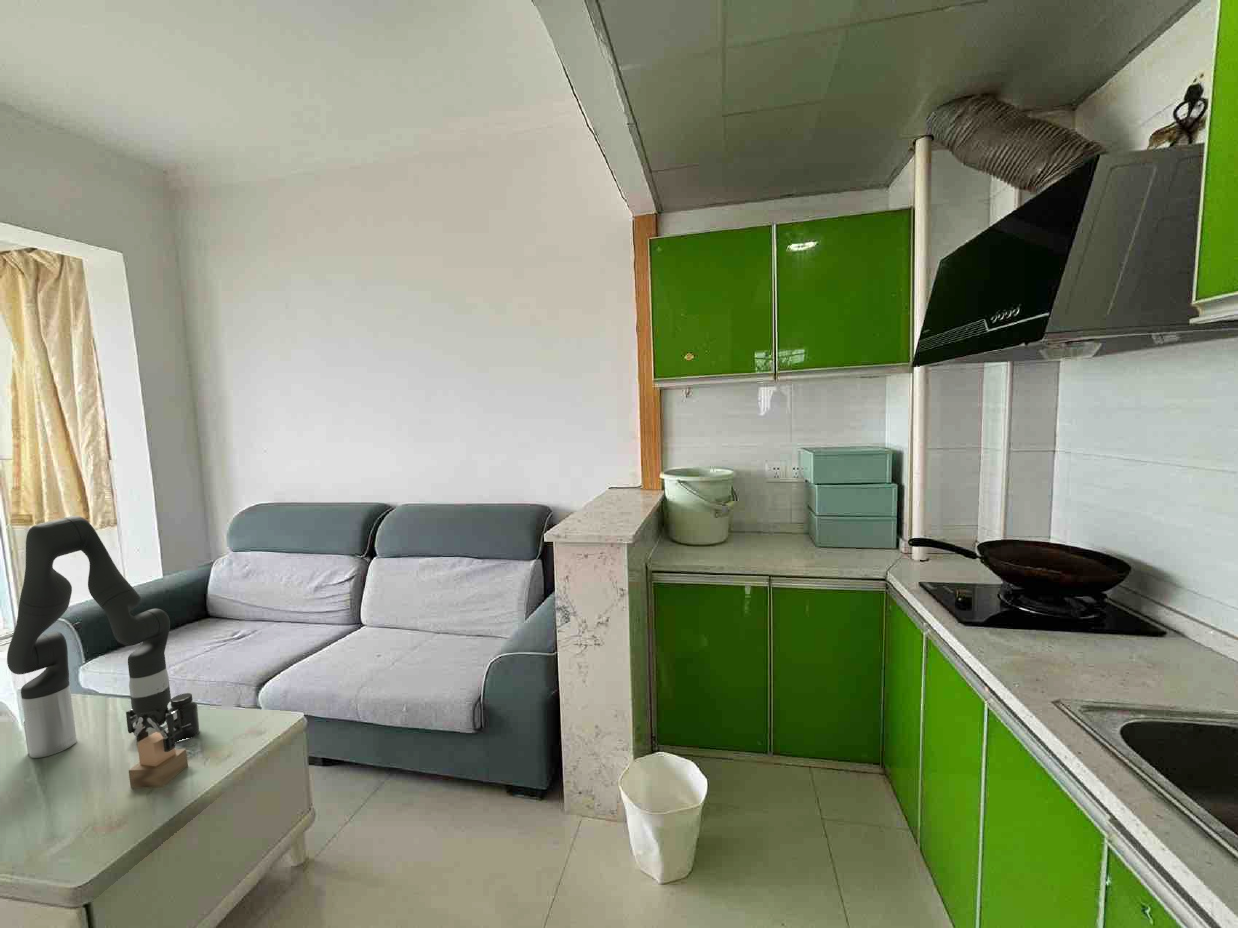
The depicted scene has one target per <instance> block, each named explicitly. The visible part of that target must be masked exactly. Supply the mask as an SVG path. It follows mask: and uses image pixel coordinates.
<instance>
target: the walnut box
mask: <svg viewBox="0 0 1238 928" xmlns="http://www.w3.org/2000/svg"><path fill="white" fill-rule="evenodd" d="M175 752H176V754H175V755H173V756H172V757H170V758H169V759H167V760H165V761H164V762H162V763H161V764H159V765H157V766H148V765H140V761H139V762H137V764H135V765H134V766H132V767H131V768H130V769H128V778H129V784H130V785H129V786H130V789H138V788H162V787H164V786H166V785H168V783H169V782H171V781H172V780H173V779H174V778H175V777H177V776H178V775H179V774H180V773H181V772H182V771H183V770H185V769H186V768H187V767H188V766H189V762H188V754H187V748H179V749H178V748H177V749H176V748H175Z"/></svg>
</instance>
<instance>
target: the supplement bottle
mask: <svg viewBox="0 0 1238 928" xmlns="http://www.w3.org/2000/svg"><path fill="white" fill-rule="evenodd" d="M168 709H169V711H170V712H174V711H176V710H179V711H180V718H181V726H182V731H181V732H179V733H177V734H176V735H175V743H178V742H177V741H179V740H182V739H186V738H190V739H192V738H194V737H195V736H197V735H198V734H199V732H200V722H199V710H198V704H197V702H195V701H193V694H192V693H190V692H184V693H181V694H178V695H176V696H174V697H171V700H170V708H168ZM174 728H175V729H176V726H174ZM191 737H192V738H191Z"/></svg>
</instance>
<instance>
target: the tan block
mask: <svg viewBox="0 0 1238 928" xmlns="http://www.w3.org/2000/svg"><path fill="white" fill-rule="evenodd" d="M166 732H167V733H168V731H166ZM163 739H164V738H163V736H162V735H161V734H160V733H157V732H155V733H153V734H151V735H149V736H148V737H146V738H144V739H142V740H141V741H139V742H137V741H136V743H138V745H137V750H138V751H137V752H138V760H139V762H140V765H148V766H157V765H159V764H161V763H162V762H164V761H165V760H167V759H169V758H170V757H172V756H173V755H175V754H176V752H175V749H176V747H175V748H174V749H172V750H171V751H169V752H165V751H164V744H163Z"/></svg>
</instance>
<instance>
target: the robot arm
mask: <svg viewBox="0 0 1238 928" xmlns="http://www.w3.org/2000/svg"><path fill="white" fill-rule="evenodd" d="M79 551H81V552H82V553H83V554H84V555H85V556H86V557H87V559H88V562H89V569H88V570H89V572H88V578H87V588H88V592H89V595H90V596H91V597H92V599H93V600H94V601H95V602H96V603H97V604H98V606H100V608H101V609H102V611H104V613H105V615H106V617H107V619H108V622H109V624H110V625H109V626H110V628H111V631H112V634H113V637H114V638H115V640H116V641H117V642H118V643H120V644H121V645H124V646H128V647H129V646H130V647H131V646H134V645H135V646H136V645H138V644H141V645H140V646H139V647H138V648H137V649H135V650H134V651H133V652H131V653H130V654H129V655H128V657H127V666H128V675H129V681H128V682H129V683H128V687H129V695H130V704H131V709H129V710H127V711H126V712H125V716H126V717H125V718H126V726H127V727H126V728H127V732H128V734H132V733H133V735H134V737H135V738H136V737H137V738H136V743H137V742H139V741H141V740H142V739H144V738H146V737H148V731H147V730H148V728H149V727H151V728H154V729H155V730H156V732H157V733H160V734H161V735H162V736H163V738H164V739H163V744H164V751H165V752H169V751H171V750H172V749H174V748H175V749H176V742H175V735H176V734H177V733H179V732H181V731H182V726H181V718H180V711H179V710H176V711H174V712H170V711H169V709H170V708H168V705H169V703H171V699H172V696H171V685H170V679H169V673H168V670H167V662H166V656H165V655H166V654H165V651H166V647H167V645H168V644H167V643H168V638H169V634H170V629H171V620H170V617H169V615H168V613H167V611H164V610H163V609H160V608H151V609H148V610H145V611H143V612H140V613H136V614H134V615H132V614H131V613H130V612H131V611H133V610H135V608H137V607H138V606H140V603H141V601H142V600H141V596H140V594H139V593H138V592H137V591H136V590H135V589H134V587H133V586H132V585H131V584H130V583H129V582H128V581H127V579H125V577H124V575H122V573H121V572H120V570H119V569H118V567H117V565H116V564H115V562H114V561H113V559H112V557H111V556H110V554H109V552H108V550H107V548H106V547H105V545H104V542H103V541H102V539H101V537H100V536H99V535H98V533H97V532H96V530H95V528H94V526H93V525H92V524H91V523H90V522H89V521H88V520H87V519H86V518H84V517H83V516H80V515H72V516H71V515H70V516H67V517H62V518H58V519H57V518H56V519H53V520H48V521H44V522H41V523H37V524H35V525H33V526H32V527H30V528H29V530H28V531H27V533H26V539H25V570H24V576H23V577H24V579H23V584H22V589H21V593H20V595H19V596H20V597H19V601H18V610H17V619H16V625H15V628H14V632H13V635H12V637H11V639H10V642H9V645H8V649H7V654H6V664H7V668H8V670H9V671H10V672H11V673H13V674H14V675H25V674H30V673H33V672H36V671H40V670H42V669H44V670H43V671H42V672H41V673H40V674H38V675H37V676H36V677H33V679H31V680H29V681H28V682H26V683H25V684H23V686H21V688H20V697H21V701H22V708H23V710H22V711H23V715H24V716H23V717H24V721H23V726H24V727H23V728H24V734H25V742H26V743H25V744H26V748H27V754H29V757H30V758H32V759H41V758H45V757H49V756H52V755H55V754H59V753H61V752H63V751H65V750H67V749H70V748H71V747H72V746H74V745H75V744H76V742H77V741H78V739H77V731H76V724H75V715H74V708H73V701H72V693H71V687H70V670H69V657H68V655H69V653H68V643H67V639H66V638H65V636H64V634H62V632H59V631H52V632H47V633H44V632H46V630H48V629H49V628H50V627H51V626H52V625H53V624H55V623H56V622H57V621H58V620H59V619H60V618H61V617H62V616H63V615H64V614H65V613H66V611H67V610H68V608H69V606H70V603H71V602H70V601H71V597H72V591H73V587H72V584H71V582H70V581H69V579H67V578H66V577H65V576H64V575H62V574H61V573H59V572H58V571H57V570H55V569H54V567H53V566H54V561H55V560H56V559H57V558H59V557H62V556H66V555H68V554H73V553H75V552H79ZM134 722H136V725H135V726H134V727H133V723H134ZM165 723H166V724H165ZM162 725H163V726H162ZM160 726H161V727H160ZM174 726H176V729H175V728H174ZM166 729H167V731H166ZM167 732H168V733H167ZM136 745H137V746H138V743H137V744H136Z"/></svg>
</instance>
